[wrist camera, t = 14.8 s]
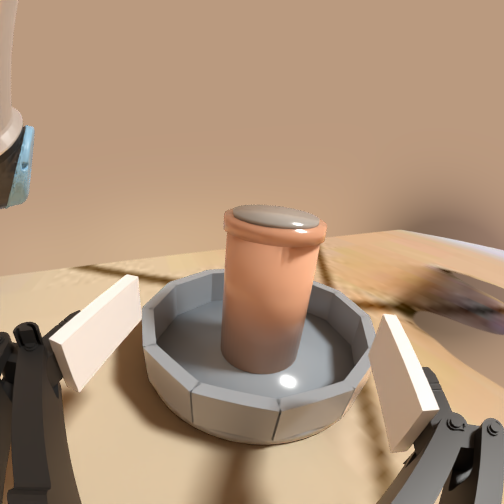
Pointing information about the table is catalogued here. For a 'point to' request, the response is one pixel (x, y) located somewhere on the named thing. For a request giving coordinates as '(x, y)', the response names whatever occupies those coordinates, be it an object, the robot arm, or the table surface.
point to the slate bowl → (250, 384)
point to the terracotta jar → (267, 284)
